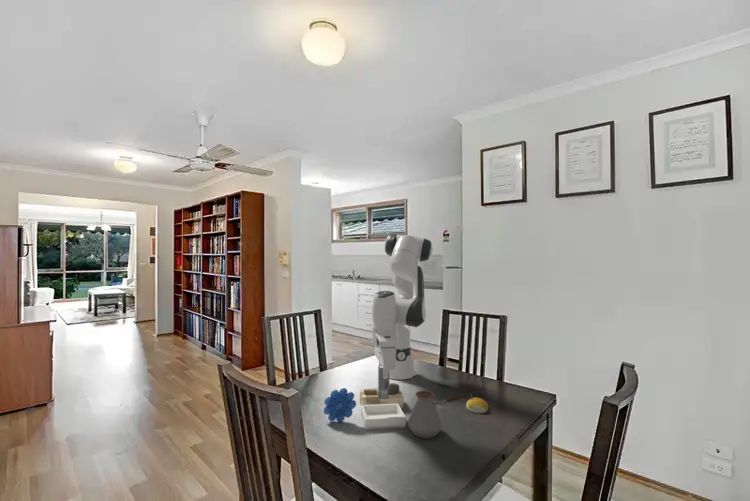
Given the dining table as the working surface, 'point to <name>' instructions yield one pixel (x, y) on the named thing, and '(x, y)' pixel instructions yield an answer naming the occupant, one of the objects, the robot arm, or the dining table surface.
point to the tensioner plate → (372, 399)
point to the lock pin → (382, 384)
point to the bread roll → (477, 405)
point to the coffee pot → (427, 414)
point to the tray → (382, 416)
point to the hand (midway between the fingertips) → (383, 375)
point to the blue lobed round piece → (339, 405)
